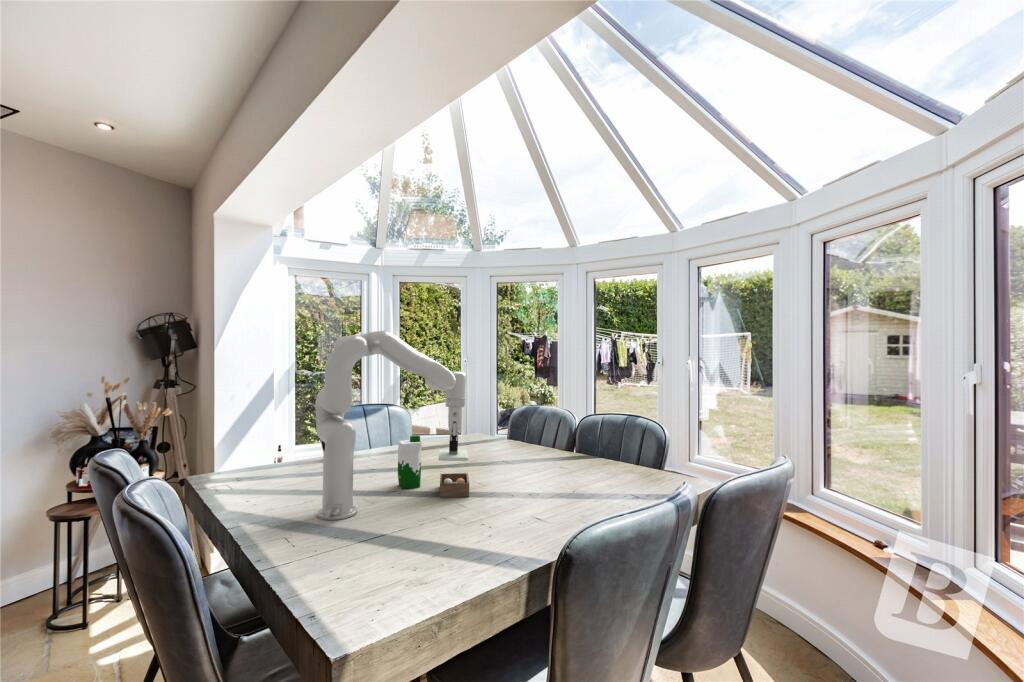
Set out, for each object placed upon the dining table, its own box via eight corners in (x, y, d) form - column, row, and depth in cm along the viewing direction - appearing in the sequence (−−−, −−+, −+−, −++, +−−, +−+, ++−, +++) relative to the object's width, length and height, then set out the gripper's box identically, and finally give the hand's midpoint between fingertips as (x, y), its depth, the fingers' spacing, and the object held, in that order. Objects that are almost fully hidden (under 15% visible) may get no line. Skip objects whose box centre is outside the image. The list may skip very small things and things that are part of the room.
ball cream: (452, 488, 185) (452, 479, 185) (443, 489, 185) (443, 479, 185) (452, 486, 189) (452, 477, 189) (443, 486, 188) (443, 477, 188)
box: (469, 496, 177) (469, 483, 177) (439, 497, 176) (439, 484, 176) (467, 485, 192) (467, 473, 192) (440, 486, 191) (440, 473, 191)
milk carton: (422, 487, 188) (423, 437, 189) (400, 490, 185) (400, 439, 185) (417, 482, 196) (418, 434, 197) (395, 484, 192) (396, 435, 193)
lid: (468, 460, 177) (468, 438, 178) (438, 460, 176) (439, 438, 176) (466, 452, 192) (467, 432, 192) (439, 452, 191) (440, 432, 191)
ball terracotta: (465, 488, 186) (465, 479, 186) (455, 488, 185) (456, 479, 185) (464, 485, 189) (464, 476, 189) (455, 486, 189) (455, 477, 189)
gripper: (465, 405, 177) (463, 454, 176) (464, 401, 193) (462, 446, 193) (445, 404, 176) (443, 454, 175) (445, 400, 192) (443, 446, 192)
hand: (453, 449), depth 184 cm, fingers closed on lid, 3 cm apart
